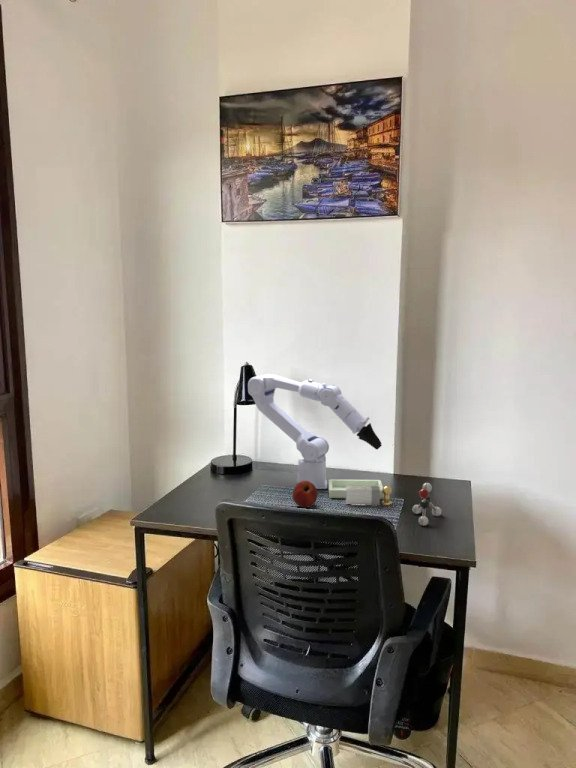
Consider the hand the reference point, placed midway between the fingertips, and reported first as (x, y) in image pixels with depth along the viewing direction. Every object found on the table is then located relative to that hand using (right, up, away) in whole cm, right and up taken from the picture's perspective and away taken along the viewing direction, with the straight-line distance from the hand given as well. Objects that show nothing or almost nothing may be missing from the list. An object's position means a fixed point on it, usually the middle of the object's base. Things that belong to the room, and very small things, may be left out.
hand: (379, 446), depth 185 cm
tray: (-7, -15, +4) cm, 17 cm away
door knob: (+1, -17, -6) cm, 18 cm away
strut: (-6, -17, -5) cm, 19 cm away
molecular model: (+10, -19, -19) cm, 29 cm away
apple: (-24, -17, -8) cm, 30 cm away
